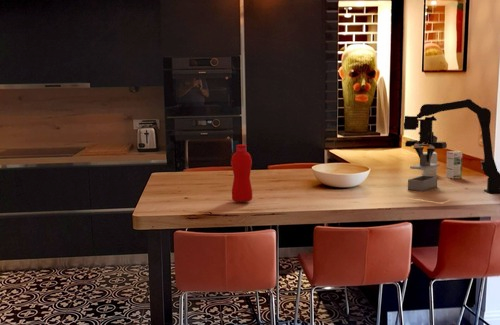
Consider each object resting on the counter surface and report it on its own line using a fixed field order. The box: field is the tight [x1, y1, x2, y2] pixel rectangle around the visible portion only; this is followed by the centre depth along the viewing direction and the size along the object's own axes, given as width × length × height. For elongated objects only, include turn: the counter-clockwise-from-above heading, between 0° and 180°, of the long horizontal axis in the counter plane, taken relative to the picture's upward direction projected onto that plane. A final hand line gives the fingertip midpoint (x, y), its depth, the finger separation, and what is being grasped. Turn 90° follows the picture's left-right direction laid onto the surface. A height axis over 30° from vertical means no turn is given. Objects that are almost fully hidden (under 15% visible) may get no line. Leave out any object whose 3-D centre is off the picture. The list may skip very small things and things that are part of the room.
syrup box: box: [445, 150, 463, 179], centre depth 279 cm, size 6×6×14 cm
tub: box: [407, 174, 438, 193], centre depth 252 cm, size 16×7×5 cm, turn 136°
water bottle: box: [230, 144, 253, 203], centre depth 232 cm, size 9×11×25 cm
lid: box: [409, 153, 440, 171], centre depth 252 cm, size 16×7×6 cm, turn 136°
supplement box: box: [421, 151, 438, 177], centre depth 289 cm, size 7×7×13 cm
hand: (425, 161), depth 252 cm, fingers closed on lid, 3 cm apart
